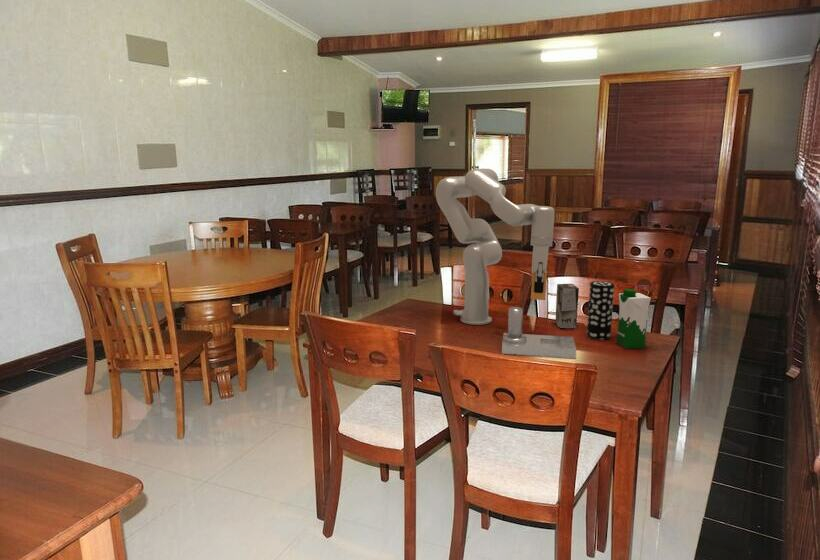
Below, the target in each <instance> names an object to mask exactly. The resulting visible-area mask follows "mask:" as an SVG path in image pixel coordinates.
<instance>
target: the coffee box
mask: <svg viewBox="0 0 820 560" xmlns="http://www.w3.org/2000/svg"><path fill="white" fill-rule="evenodd" d="M579 292H580V288H579V287H578V286H576V285H575V284H573V283H557V284H556V297H555V298H556V301H555V302H556V303H555V304H556V305H555V322H556V323H557V324H556V323H555V322H554V323H555V324H556V325H557V327H558V328H559V327H560V328H576V329H577V324H578V323H577V321H578V308H579V307H578V305H579ZM560 328H559V329H560Z"/></svg>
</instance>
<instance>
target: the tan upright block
mask: <svg viewBox="0 0 820 560" xmlns="http://www.w3.org/2000/svg"><path fill="white" fill-rule="evenodd" d="M531 273H532V272H531ZM537 273H538V272H537ZM542 274H543V272H542ZM537 276H538V275H537ZM547 276H548V271H547V270H546V273H545V274H544V276H543V282H544V286H543V293H534V283H535V278H536V272H535V273H534V274H533V273H532V275H531V291H530V299H531V300H537V301H538V300H539V301H546V293H547V278H548V277H547Z"/></svg>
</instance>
